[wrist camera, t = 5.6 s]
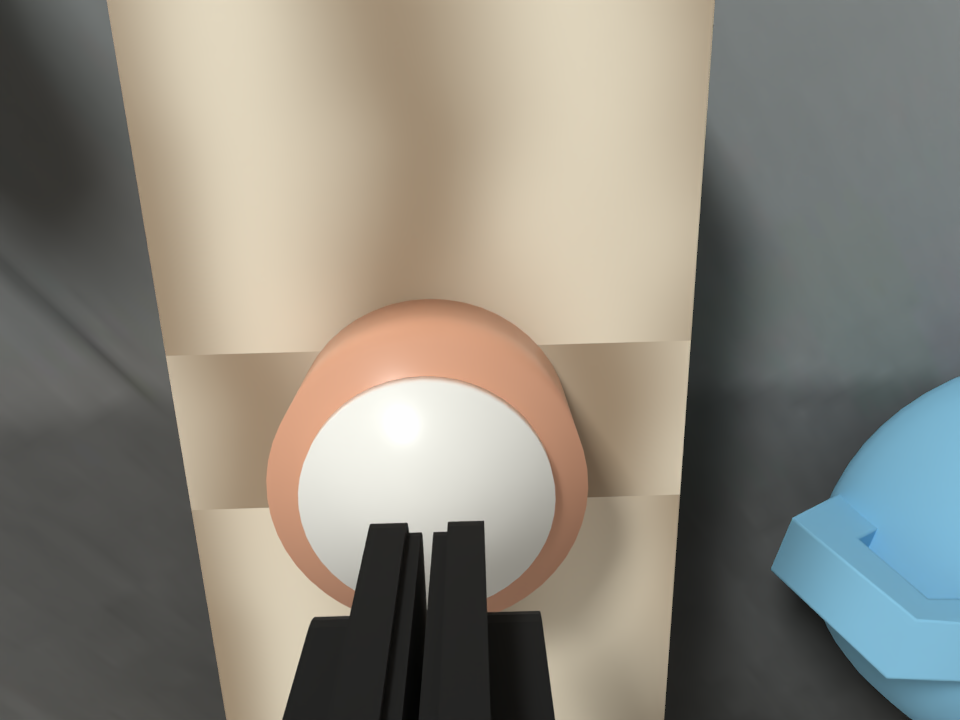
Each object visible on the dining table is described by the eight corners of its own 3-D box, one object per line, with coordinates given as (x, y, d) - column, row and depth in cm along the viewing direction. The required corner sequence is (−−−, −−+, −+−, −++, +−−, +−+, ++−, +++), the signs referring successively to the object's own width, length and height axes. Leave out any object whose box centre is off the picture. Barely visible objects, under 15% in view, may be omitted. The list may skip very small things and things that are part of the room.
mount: (632, -5, 23) (718, -49, 15) (610, 577, 29) (662, 746, 22) (220, 5, 23) (100, -35, 15) (291, 587, 29) (233, 762, 22)
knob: (539, 235, 24) (595, 342, 14) (539, 424, 26) (587, 633, 16) (332, 241, 24) (241, 352, 14) (349, 430, 26) (280, 644, 16)
